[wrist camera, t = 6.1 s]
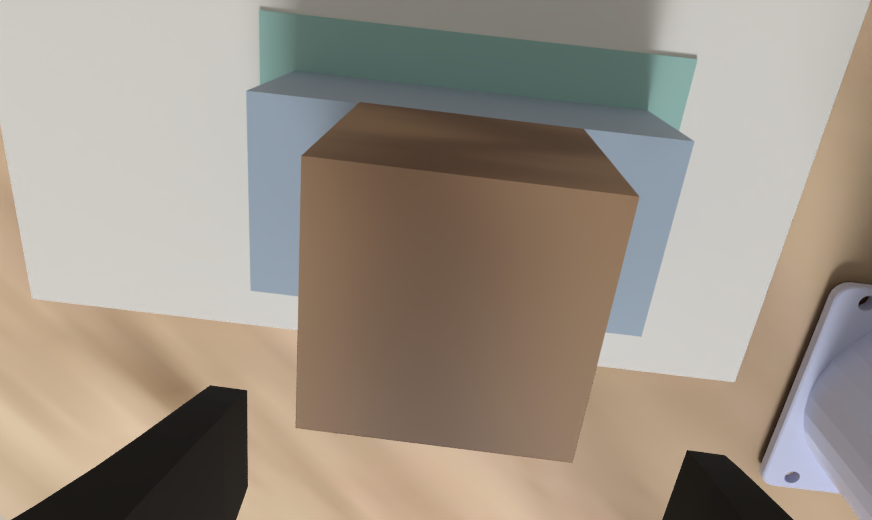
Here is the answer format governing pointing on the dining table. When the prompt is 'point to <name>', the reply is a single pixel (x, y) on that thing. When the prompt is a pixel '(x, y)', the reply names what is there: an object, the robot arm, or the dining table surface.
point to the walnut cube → (456, 279)
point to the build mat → (414, 64)
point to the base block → (336, 95)
